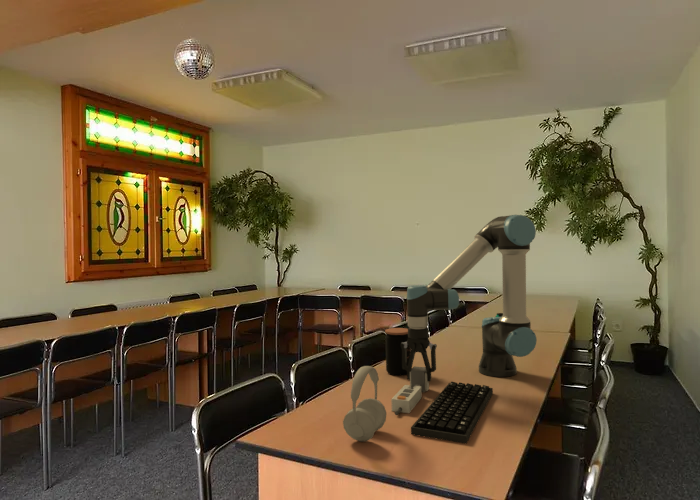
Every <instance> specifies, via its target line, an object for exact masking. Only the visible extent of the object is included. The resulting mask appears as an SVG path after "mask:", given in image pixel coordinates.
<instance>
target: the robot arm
mask: <svg viewBox="0 0 700 500" xmlns="http://www.w3.org/2000/svg"><path fill="white" fill-rule="evenodd" d="M536 231H537V230H536V226H535V223H534V221H532V220H531V219H530V218H529V217H528V216H525V215H522V214H511V215H510V214H509V215H504V216H503V215H502V216H497V217H495V218H493V219H492V220H490V221H489V222H488V223H486V224H485V225H484V226H483V227H482V228H481V229H480V230H479V231H478V232H476V234H475V235H474V240H473V241H472V242H470V243H469V245H468V246H466V247H465V248H464V250H462V251H461V252H460V253H459V254H458V255H457V256H456V257H455V258H454V259H453V260H452V261H451V262H450V263H449V264H448V265H447V266H446V267H445V268H444V269H443V270H442V271H441V272H440V273H438V274H437V276H436V277H435V278H434V279H433V280H431V282H429V283H428V285H419V284H418V285H415V284H414V285H409V286H408V287H407V288H406V289H407V290H406V304H407V305H406V306H407V308H406V309H407V327H408V328H407V329H408V340H407V342H402V343H401V344H400V346H401V349H402V369H403V370H406V371H407V375H406V376H407V377H406V378H407V380H408V381H409V385H410V389H411V369H412V368H413V364H414V360H415V356H416V353H420V354H421V356H422V359H423V363H424V367H426V373H425V391H426V392H428V391H429V389H430V382H431V381H432V373H434V372H435V371H437V360H436V359H437V357H436V356H437V355H436V350H437V344H436V343H431V341H430V339H429V328H428V326H429V311H448V310H454V309H455V310H456V309H458V307H459V304H460V295H459V292H458V291H457V290H456V289H452V288H454V287H455V285H457V283H458V282H459V281H461V280H462V279H463V277H465V276H466V274H468V273H469V272H470V271H471V270H472V269H473V268H474V267H475V266H477V264H478V263H479V262H480V261H481V260H482V259H484V257H486V255H487V254H488V253H492V252H494V251H495V250H496V249H498V252H499V253H500V254H501V255H502V257H501V259H502V313H503V316H502V317H496V316H493V317H491V316H490V317H489V316H488V317H484V318H483V319H482V321H481V323H482V324H481V336H482V339H481V341H482V354H481V358H480V361H479V364H478V372H479V373H480V374H482V375H485V376H488V377H498V378H503V377H504V378H508V377H514V376H516V375H517V366H516V363H515V359H514V357H518V358H522V357H526V356H528V355H530V354H531V353H532V352H533V351H534V350H535V348H536V345H537V336H536V333H535V332H534V330H532V329H531V324H532V323H531V319H530V318H528V317H527V276H526V275H527V274H526V273H527V265H526V264H527V260H526V259H527V258H526V257H527V256H526V255H527V253H528V252H530V250H531V246H530V245H531V243H532V242H533V240H534V239H535V238H536ZM407 345H408V346H409V347H410V348H411V353H410V358H409V362H408V366H407ZM428 347H429V350H430V360H429V357H428V352H427V348H428ZM513 356H514V357H513ZM430 362H431V363H430Z"/></svg>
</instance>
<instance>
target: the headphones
mask: <svg viewBox="0 0 700 500" xmlns="http://www.w3.org/2000/svg"><path fill="white" fill-rule="evenodd" d="M368 375H369V378H370V380H371V382H372V383H373V386H374V398H371V397H369V398H364V399H362V400H361V401H359V402H358V403H357V401H358V400H359V398H360V395H361V391H362V388H363V385H364V382H365V380H366V378H367V377H368ZM379 380H380V379H379V374H378V371H377V368H375V367H374V366H371V365H363V366H361V367H360V368H358V369H357V371H356V372H355V374H354V376H353V379H352V383H351V384H352V385H351V389H350V390H351V391H350V398H351V401H352V409H350V410H348V411H347V413H346V414H345V416H344V418H343V419H342V425H343V429H344V431H345V433H346V434H347V435H348V436H349V438H351V439H352V440H354V441H357V442H368V441H370V440H372V438H373V437H374V434H375V432H376V431H378V430H380V429H382V428H383V426H384V425H385V422H386V421H387V410H386V407H385V405H384V404H383V403H382V402H381V401H380V400H378V382H379Z"/></svg>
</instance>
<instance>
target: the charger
mask: <svg viewBox="0 0 700 500" xmlns="http://www.w3.org/2000/svg"><path fill="white" fill-rule="evenodd" d="M425 373H426V367H425V366H416V365H415V366H412V369H411V389H414V388H415V387H416V386H421V392H422V393H426V392H427V391H425Z"/></svg>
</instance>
